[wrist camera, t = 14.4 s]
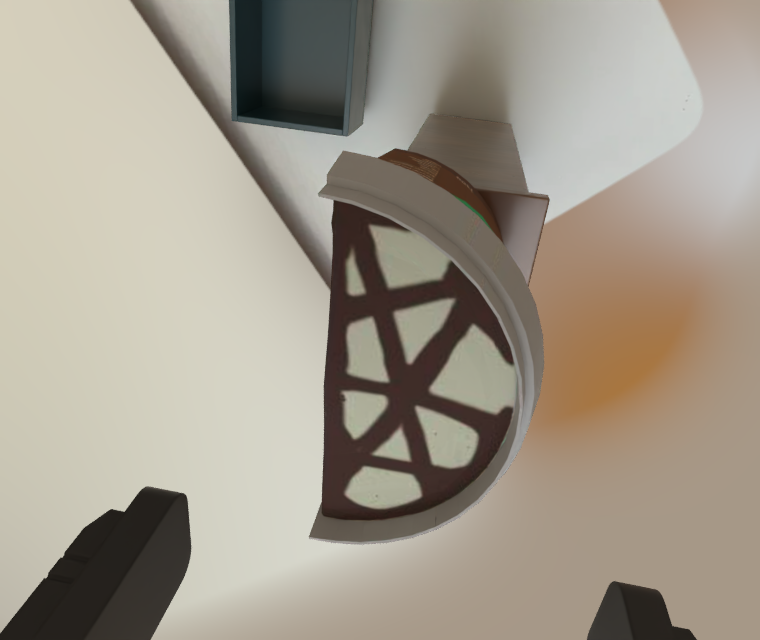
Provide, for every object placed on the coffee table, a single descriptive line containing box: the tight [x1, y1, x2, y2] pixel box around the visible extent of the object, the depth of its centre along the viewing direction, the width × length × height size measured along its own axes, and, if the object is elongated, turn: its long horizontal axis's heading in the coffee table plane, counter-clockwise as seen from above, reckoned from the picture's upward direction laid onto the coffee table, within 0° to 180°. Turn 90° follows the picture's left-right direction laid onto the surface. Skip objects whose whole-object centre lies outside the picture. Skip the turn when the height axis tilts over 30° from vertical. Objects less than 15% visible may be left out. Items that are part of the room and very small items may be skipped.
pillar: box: [407, 114, 529, 192], centre depth 34 cm, size 6×6×21 cm
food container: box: [309, 148, 544, 544], centre depth 20 cm, size 12×6×10 cm, turn 175°
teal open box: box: [229, 0, 373, 136], centre depth 38 cm, size 8×14×5 cm, turn 174°
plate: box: [471, 184, 549, 287], centre depth 24 cm, size 7×7×1 cm
